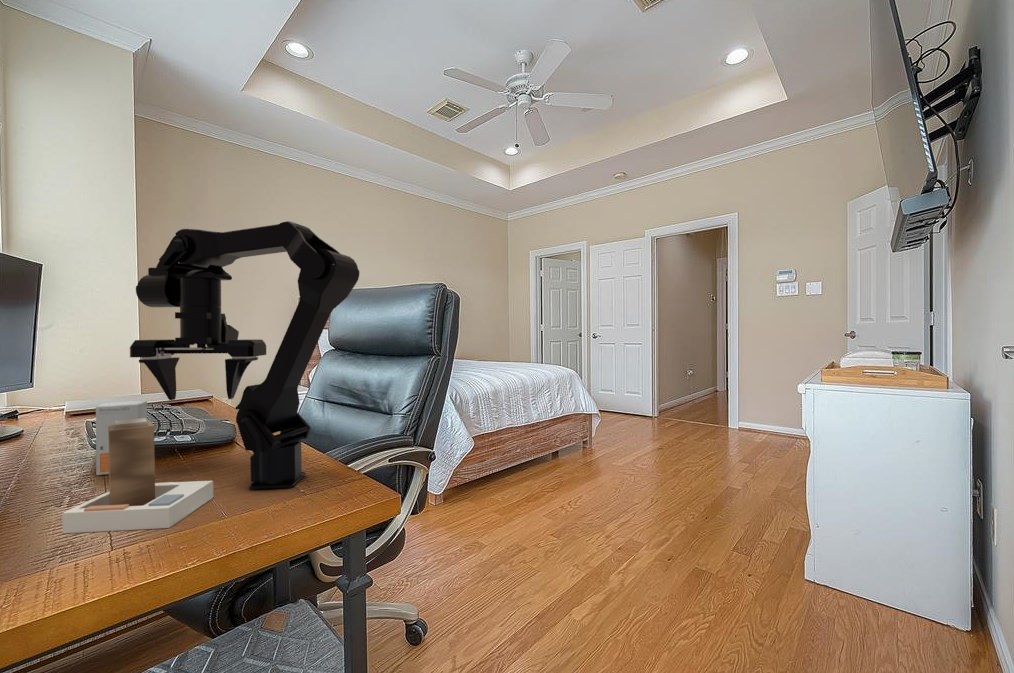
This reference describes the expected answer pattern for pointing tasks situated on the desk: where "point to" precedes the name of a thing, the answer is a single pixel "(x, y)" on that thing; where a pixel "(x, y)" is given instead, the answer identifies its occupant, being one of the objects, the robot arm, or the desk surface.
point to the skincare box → (107, 417)
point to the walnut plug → (131, 462)
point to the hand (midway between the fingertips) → (201, 399)
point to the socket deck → (139, 509)
